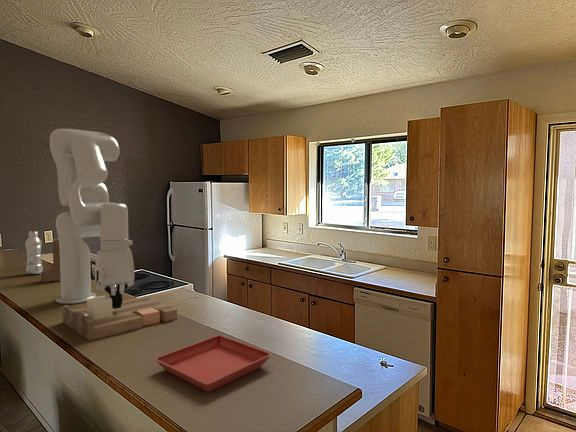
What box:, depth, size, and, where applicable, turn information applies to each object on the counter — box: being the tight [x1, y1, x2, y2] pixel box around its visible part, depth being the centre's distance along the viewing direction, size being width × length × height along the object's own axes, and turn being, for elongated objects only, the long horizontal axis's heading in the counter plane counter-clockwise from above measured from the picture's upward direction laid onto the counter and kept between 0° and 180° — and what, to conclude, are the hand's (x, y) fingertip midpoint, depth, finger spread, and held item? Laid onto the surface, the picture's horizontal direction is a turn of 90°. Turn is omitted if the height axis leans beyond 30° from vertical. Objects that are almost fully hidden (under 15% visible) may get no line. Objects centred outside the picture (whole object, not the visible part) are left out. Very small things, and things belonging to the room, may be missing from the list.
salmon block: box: [136, 308, 161, 327], centre depth 118 cm, size 5×5×4 cm
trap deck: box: [61, 296, 178, 341], centre depth 119 cm, size 21×25×5 cm
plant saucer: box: [155, 335, 272, 393], centre depth 86 cm, size 18×18×3 cm
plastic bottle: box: [24, 231, 44, 275], centre depth 186 cm, size 6×7×20 cm
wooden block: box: [40, 238, 61, 283], centre depth 173 cm, size 9×4×18 cm, turn 116°
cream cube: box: [86, 295, 112, 320], centre depth 114 cm, size 5×5×5 cm
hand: (116, 307), depth 117 cm, fingers closed
